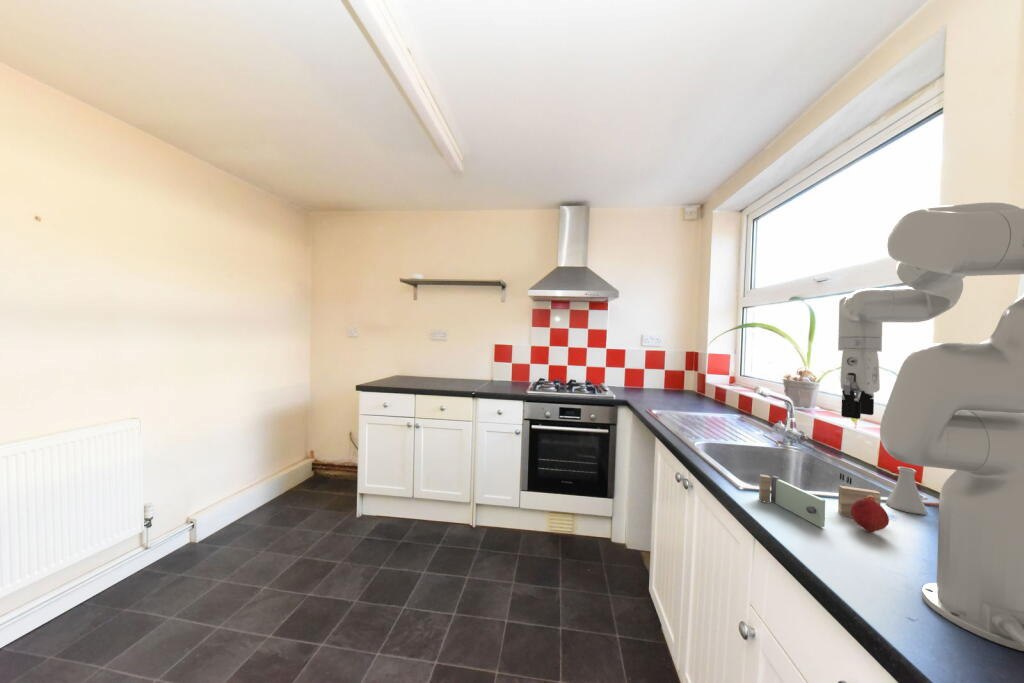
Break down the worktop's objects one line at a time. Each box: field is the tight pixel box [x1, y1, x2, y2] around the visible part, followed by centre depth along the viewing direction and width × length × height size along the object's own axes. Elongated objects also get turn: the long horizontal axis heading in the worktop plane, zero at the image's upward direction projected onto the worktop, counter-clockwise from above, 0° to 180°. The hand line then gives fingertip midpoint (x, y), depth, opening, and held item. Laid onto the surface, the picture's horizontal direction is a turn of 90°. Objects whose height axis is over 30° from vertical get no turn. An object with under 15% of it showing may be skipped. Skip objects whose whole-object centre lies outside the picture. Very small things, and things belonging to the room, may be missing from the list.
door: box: [770, 475, 826, 528], centre depth 85 cm, size 2×13×6 cm, turn 7°
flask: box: [884, 466, 928, 516], centre depth 89 cm, size 7×7×10 cm
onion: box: [850, 496, 890, 533], centre depth 77 cm, size 6×6×8 cm
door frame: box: [758, 474, 882, 518], centre depth 87 cm, size 2×23×6 cm, turn 67°
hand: (857, 415), depth 85 cm, fingers open, 9 cm apart
